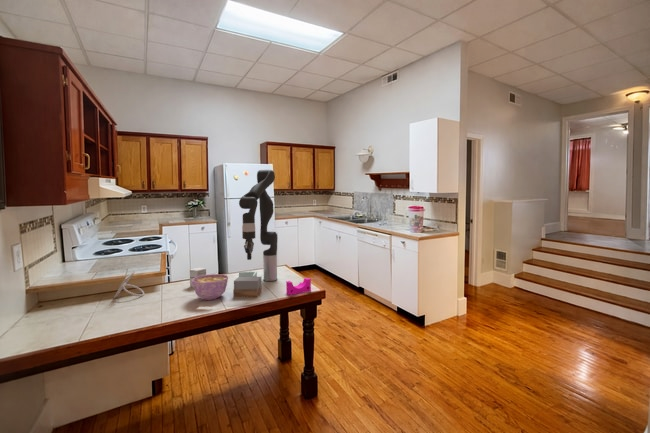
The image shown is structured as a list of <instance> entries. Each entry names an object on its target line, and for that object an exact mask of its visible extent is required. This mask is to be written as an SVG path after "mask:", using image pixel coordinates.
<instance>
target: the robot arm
mask: <svg viewBox="0 0 650 433" xmlns="http://www.w3.org/2000/svg"><path fill="white" fill-rule="evenodd" d="M256 179H257V180H256V182H257V183H256V184H255V185H253V186H252V187H251V189H250V190H249V191H248V192H246V193H245V194H244V195H243V196H241V197H240V199H239V202H238V204H239V207H240V208H241V209H242V210H243V209H244V210H248V212H245V213H243V214H242V227H241V230H242V231H241V232H242V238H241V239H243V240H245V242H244V245H243V248H244V251H245V253H246V259H247V260H248V261H251V260H252V257H253V256H252V254H253V251H254V245H255V243H254V240H255V239H256V224H255V223H256V217H255V216H256V212H257V208H258V203H259V217H260V230H259V231H260V233H259V234H260V235H259V236H260V237H259V239H260V243H261V244H262V245H263V246H265V245H267V246H269V248H268V249H264V250H263V252H262V256H263V257H262V260H263V262H262V263H263V280H264V281H267V282H272V281H273V282H274V281H276V280H278V233H277V232H276V231H268V225H269V223H270V221H271V219H272V217H273V215H274V213H275V212H274V202H273V200H272V198H271V197H270V194H268V191H267V190H266V189H268V188H269V187H270V186H271V185H272V184H273V183H274V181H275V180H276V174H275V171H274V170H272V169H260V170H259V169H258V171H257V174H256ZM258 200H259V202H258ZM253 239H254V240H253Z"/></svg>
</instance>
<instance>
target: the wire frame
mask: <svg viewBox="0 0 650 433" xmlns="http://www.w3.org/2000/svg"><path fill="white" fill-rule="evenodd" d="M135 272H136V271H135V270H134V271H132V272H131V273H130V274H128V275H127V276H126V277H125V278H124V279H122V282H121V284H120V285H119V288H118V290H117V291H116V293H115V295H114V297H113V298H115V299H116V298H117V297H118V296H119V294H120V292H121V291H122V290H123V291H125V292H126V293H128V294H129V295H131V296H135V297H143V296H145V291H144V290H143V289H142V288H140V287H138V286H137V285H134V284H130V283H129V284H128V282H129V281H130V279H131V278H132V277H133V275H134V274H135ZM126 287H131V288H135V289H137V290H138V291H140V292H141V293H142V294H137V293H135V292H132V291H129V290H128V289H126Z"/></svg>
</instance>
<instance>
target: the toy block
mask: <svg viewBox="0 0 650 433" xmlns="http://www.w3.org/2000/svg"><path fill="white" fill-rule="evenodd" d="M311 280H312V279H311V278H309V277H306V278H305V277H304V278H303V281H302V282H299V284H297V285H295V286H294V284H293V281H290V280H287V281H286V285H285V286H286V288H285V290H286V291H285V292H286V294H287V295H288V296H292V295H297V294H303V293H307V292H311V291H312V281H311Z"/></svg>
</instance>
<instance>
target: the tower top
mask: <svg viewBox="0 0 650 433" xmlns="http://www.w3.org/2000/svg"><path fill="white" fill-rule="evenodd" d="M260 286H261V287H262V276H257V277H239V276H238V277H236V278H235V280H233V289H234V290H241V289H259V287H260Z"/></svg>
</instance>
